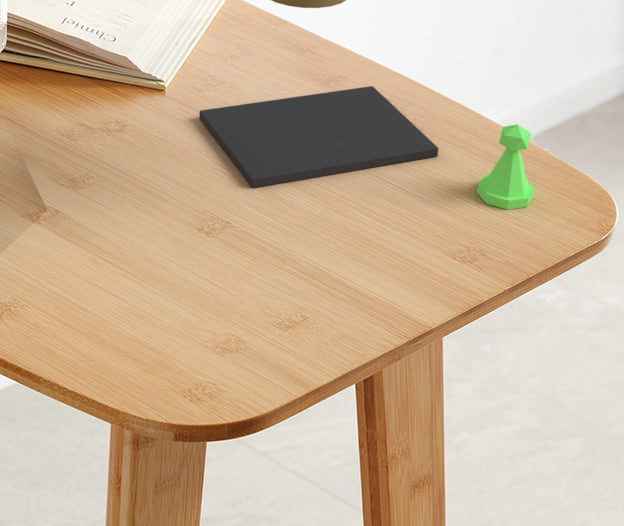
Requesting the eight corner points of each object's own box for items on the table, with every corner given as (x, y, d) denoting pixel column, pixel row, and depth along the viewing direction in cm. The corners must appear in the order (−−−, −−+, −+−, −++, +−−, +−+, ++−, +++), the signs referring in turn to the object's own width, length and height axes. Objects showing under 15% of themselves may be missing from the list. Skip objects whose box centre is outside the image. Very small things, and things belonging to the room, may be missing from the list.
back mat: (252, 188, 85) (252, 179, 85) (199, 118, 94) (199, 110, 93) (437, 156, 91) (439, 147, 90) (371, 93, 100) (372, 85, 99)
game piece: (544, 198, 87) (559, 127, 83) (508, 215, 84) (521, 143, 81) (501, 175, 89) (514, 105, 85) (465, 191, 87) (476, 120, 83)
